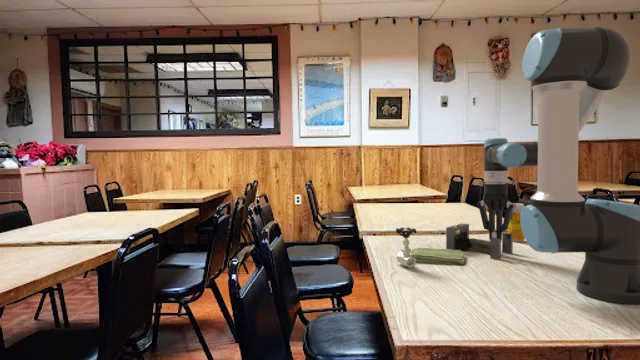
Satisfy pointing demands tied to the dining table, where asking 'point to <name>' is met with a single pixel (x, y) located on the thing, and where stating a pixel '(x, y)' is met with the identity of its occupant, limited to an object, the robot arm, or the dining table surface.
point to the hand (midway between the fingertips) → (495, 250)
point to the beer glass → (516, 223)
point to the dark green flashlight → (471, 244)
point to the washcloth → (438, 256)
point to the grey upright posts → (494, 243)
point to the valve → (406, 248)
